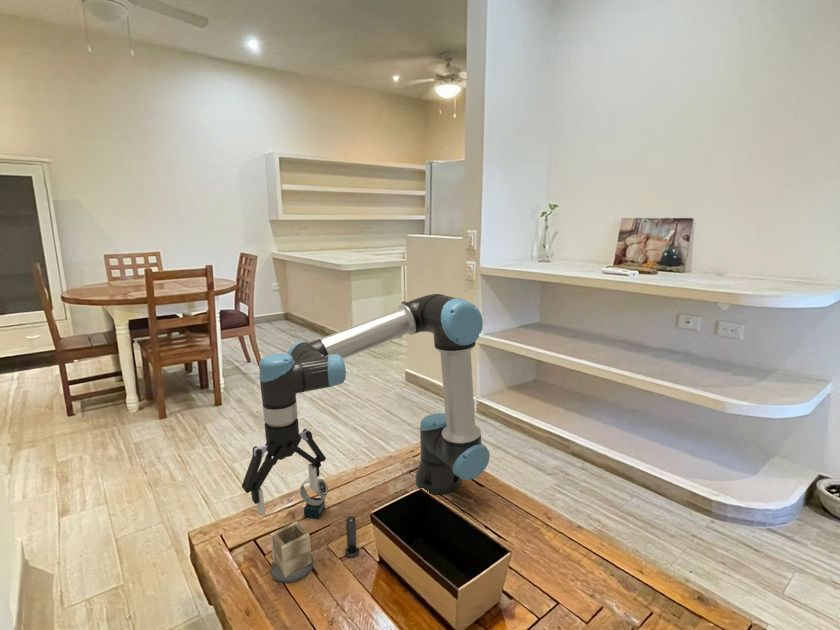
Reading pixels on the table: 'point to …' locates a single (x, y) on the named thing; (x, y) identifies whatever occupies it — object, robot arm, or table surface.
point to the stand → (351, 537)
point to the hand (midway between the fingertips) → (288, 500)
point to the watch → (314, 499)
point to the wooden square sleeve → (291, 549)
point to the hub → (295, 576)
